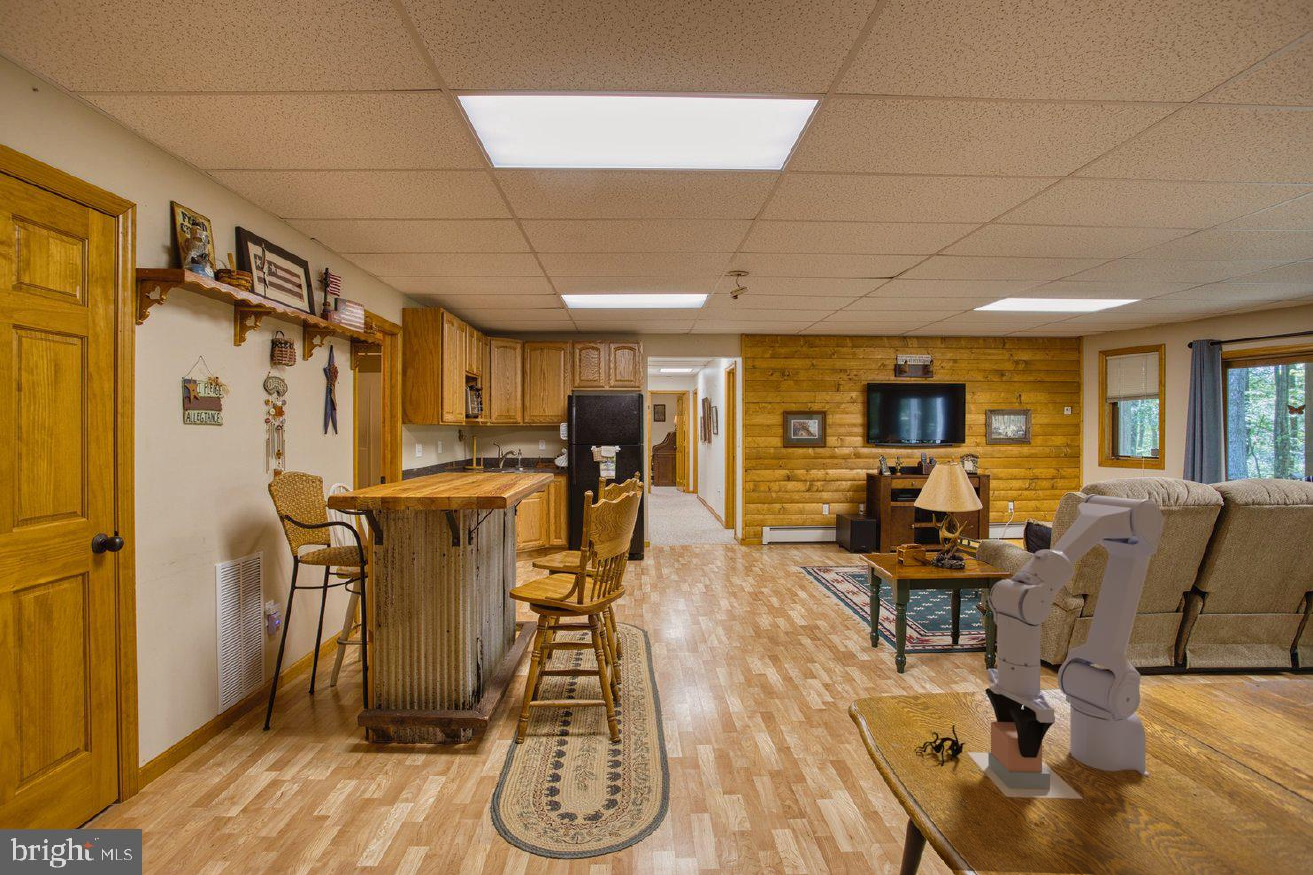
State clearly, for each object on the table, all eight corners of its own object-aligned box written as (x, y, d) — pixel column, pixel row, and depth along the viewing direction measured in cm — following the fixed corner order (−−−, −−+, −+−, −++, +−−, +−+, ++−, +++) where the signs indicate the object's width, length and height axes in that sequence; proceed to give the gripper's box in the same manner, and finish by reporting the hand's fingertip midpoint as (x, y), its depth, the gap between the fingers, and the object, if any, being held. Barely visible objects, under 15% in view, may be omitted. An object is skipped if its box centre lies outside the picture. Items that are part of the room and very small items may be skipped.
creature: (922, 777, 95) (974, 771, 93) (914, 744, 95) (966, 738, 93) (910, 751, 103) (958, 746, 101) (903, 721, 103) (951, 715, 101)
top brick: (1022, 753, 94) (1022, 722, 94) (1042, 771, 89) (1042, 738, 89) (990, 752, 94) (990, 721, 94) (1008, 770, 89) (1008, 738, 89)
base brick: (1026, 766, 94) (1026, 751, 94) (1050, 789, 88) (1050, 773, 88) (988, 766, 94) (988, 751, 94) (1009, 788, 88) (1009, 772, 88)
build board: (1034, 758, 98) (1034, 753, 98) (1083, 803, 86) (1083, 798, 86) (966, 757, 98) (966, 752, 98) (1006, 801, 87) (1006, 796, 87)
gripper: (969, 642, 99) (969, 722, 99) (1018, 678, 84) (1018, 772, 84) (1012, 642, 98) (1012, 723, 98) (1069, 679, 84) (1069, 773, 84)
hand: (1018, 746), depth 91 cm, fingers closed on top brick, 5 cm apart
